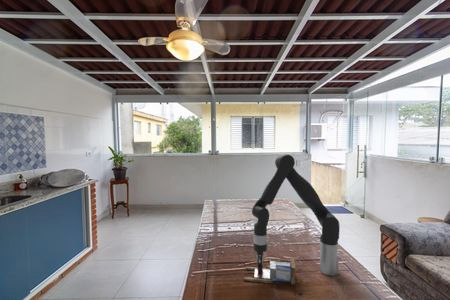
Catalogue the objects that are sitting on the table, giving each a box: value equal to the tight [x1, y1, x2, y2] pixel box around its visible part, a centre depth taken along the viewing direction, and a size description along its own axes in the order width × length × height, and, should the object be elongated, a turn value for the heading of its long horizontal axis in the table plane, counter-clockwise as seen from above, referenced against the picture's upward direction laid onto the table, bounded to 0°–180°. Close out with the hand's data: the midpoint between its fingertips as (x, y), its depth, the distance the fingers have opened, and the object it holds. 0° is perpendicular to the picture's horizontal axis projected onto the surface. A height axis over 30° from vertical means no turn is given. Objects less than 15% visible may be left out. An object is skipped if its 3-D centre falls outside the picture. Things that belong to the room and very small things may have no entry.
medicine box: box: [275, 261, 291, 283], centre depth 132 cm, size 8×4×9 cm, turn 79°
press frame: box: [243, 257, 296, 285], centre depth 134 cm, size 27×12×9 cm, turn 79°
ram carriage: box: [253, 260, 277, 282], centre depth 135 cm, size 12×9×10 cm
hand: (260, 271), depth 135 cm, fingers closed on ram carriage, 3 cm apart
